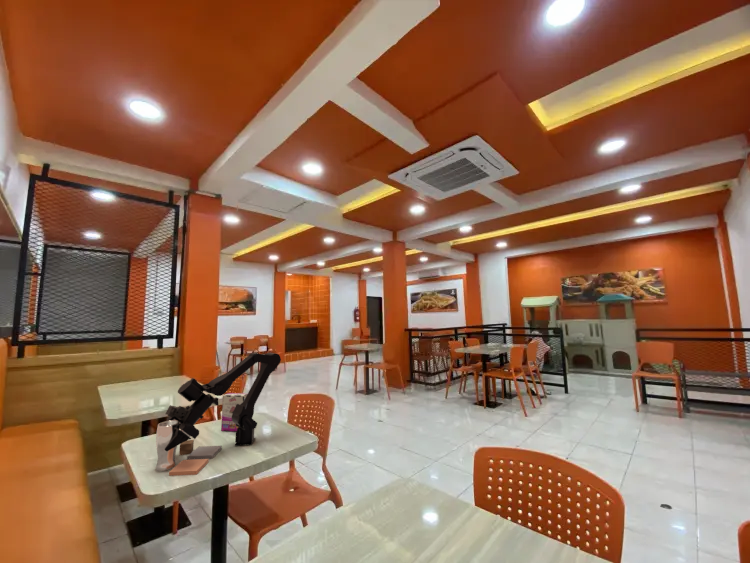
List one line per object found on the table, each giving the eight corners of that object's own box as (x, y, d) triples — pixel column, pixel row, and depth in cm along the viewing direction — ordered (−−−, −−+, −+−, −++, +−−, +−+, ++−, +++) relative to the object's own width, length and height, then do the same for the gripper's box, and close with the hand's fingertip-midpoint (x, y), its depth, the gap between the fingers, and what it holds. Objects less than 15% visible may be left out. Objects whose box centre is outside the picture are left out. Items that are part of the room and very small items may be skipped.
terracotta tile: (208, 462, 116) (208, 458, 116) (196, 474, 107) (196, 470, 107) (182, 463, 115) (183, 459, 115) (168, 475, 106) (169, 471, 106)
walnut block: (193, 450, 127) (193, 439, 127) (190, 454, 123) (191, 443, 124) (181, 451, 126) (182, 441, 126) (179, 455, 122) (179, 444, 122)
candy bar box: (248, 428, 150) (249, 393, 152) (242, 432, 146) (243, 395, 147) (227, 427, 152) (228, 392, 154) (220, 431, 147) (222, 394, 149)
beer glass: (149, 470, 110) (152, 425, 112) (168, 461, 117) (170, 419, 118) (163, 473, 108) (166, 427, 110) (182, 464, 114) (184, 421, 116)
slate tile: (221, 448, 128) (221, 445, 128) (212, 458, 119) (212, 455, 119) (198, 449, 127) (198, 446, 127) (187, 459, 118) (187, 456, 118)
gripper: (174, 392, 124) (137, 429, 115) (191, 400, 112) (152, 442, 102) (194, 408, 129) (161, 445, 120) (213, 418, 117) (178, 460, 107)
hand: (162, 447), depth 112 cm, fingers closed on beer glass, 6 cm apart
